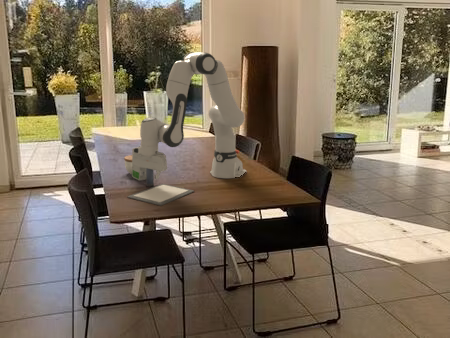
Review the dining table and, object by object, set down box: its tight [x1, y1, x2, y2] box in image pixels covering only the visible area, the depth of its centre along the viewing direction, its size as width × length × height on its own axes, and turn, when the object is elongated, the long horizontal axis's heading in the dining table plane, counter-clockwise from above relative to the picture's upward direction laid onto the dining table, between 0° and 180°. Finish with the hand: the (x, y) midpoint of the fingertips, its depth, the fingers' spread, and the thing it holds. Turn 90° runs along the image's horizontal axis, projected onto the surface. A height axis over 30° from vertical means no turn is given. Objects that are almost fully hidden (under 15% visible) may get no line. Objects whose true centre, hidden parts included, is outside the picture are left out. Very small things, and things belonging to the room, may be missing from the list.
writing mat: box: [127, 183, 195, 207], centre depth 225 cm, size 26×20×1 cm
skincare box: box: [131, 148, 146, 181], centre depth 250 cm, size 8×7×16 cm
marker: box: [145, 160, 155, 188], centre depth 237 cm, size 4×4×14 cm
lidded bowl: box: [123, 154, 132, 175], centre depth 260 cm, size 13×13×11 cm
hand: (149, 176), depth 237 cm, fingers open, 8 cm apart
